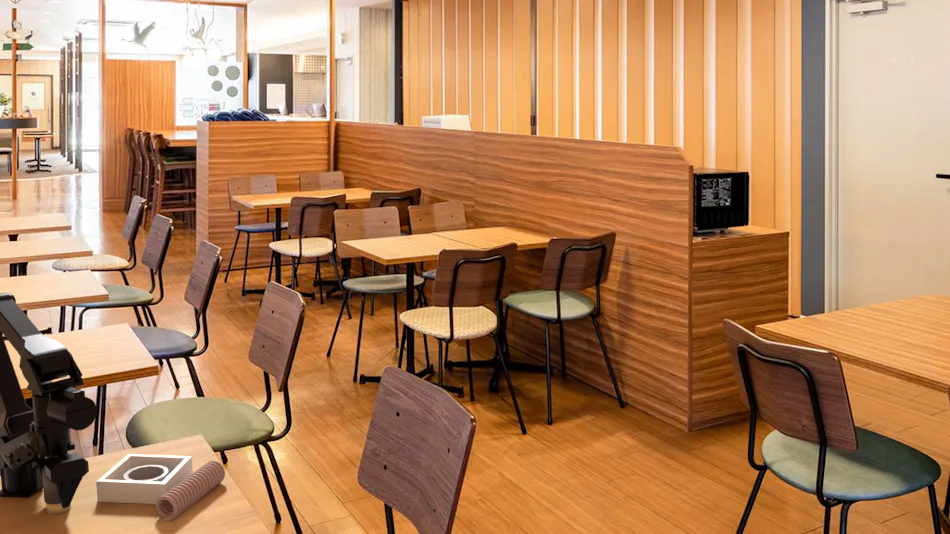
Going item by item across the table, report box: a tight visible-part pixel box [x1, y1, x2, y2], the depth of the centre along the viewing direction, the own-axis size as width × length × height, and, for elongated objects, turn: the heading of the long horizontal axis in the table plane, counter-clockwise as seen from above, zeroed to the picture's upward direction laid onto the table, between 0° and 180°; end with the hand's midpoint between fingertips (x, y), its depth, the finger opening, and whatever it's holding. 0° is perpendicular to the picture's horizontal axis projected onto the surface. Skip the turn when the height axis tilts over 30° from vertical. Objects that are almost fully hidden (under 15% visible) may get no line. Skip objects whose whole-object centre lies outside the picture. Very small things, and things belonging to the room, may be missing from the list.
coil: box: [155, 460, 226, 522], centre depth 159 cm, size 5×5×18 cm
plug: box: [42, 467, 72, 515], centre depth 154 cm, size 4×4×8 cm
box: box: [95, 453, 194, 505], centre depth 164 cm, size 13×13×4 cm
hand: (57, 498), depth 155 cm, fingers open, 9 cm apart
